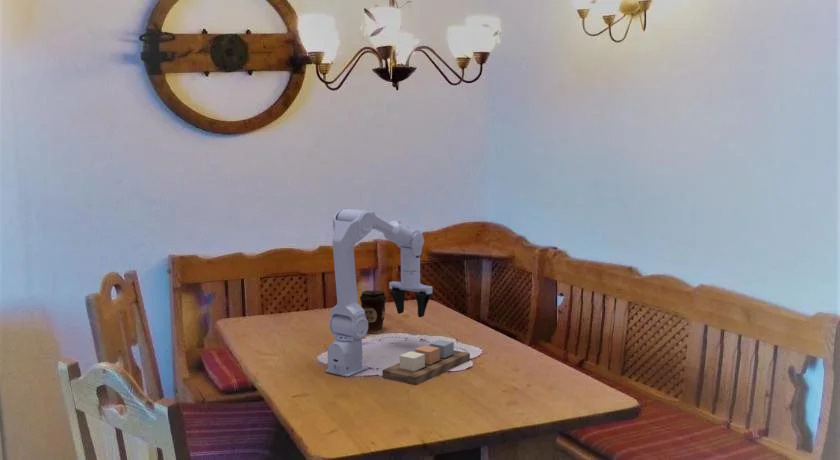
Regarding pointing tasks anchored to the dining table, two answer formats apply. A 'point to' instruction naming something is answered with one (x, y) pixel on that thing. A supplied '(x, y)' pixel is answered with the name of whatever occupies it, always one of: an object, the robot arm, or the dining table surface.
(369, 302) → the coffee cup
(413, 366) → the cream block
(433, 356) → the salmon brown square block
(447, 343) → the button slate
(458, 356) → the board
